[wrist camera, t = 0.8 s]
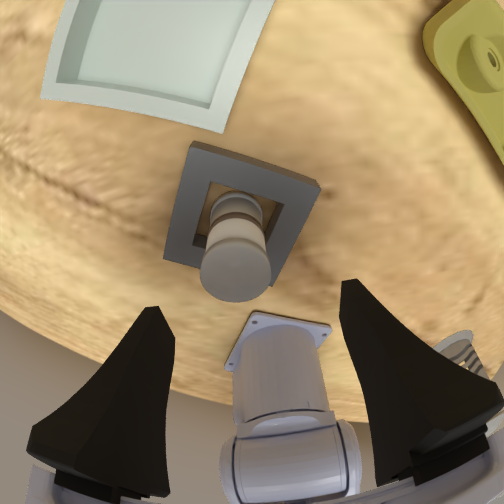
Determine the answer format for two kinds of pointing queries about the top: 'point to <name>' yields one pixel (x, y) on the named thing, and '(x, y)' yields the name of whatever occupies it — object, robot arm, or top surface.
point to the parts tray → (155, 56)
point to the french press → (467, 365)
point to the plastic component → (472, 60)
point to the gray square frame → (245, 179)
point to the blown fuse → (235, 249)
